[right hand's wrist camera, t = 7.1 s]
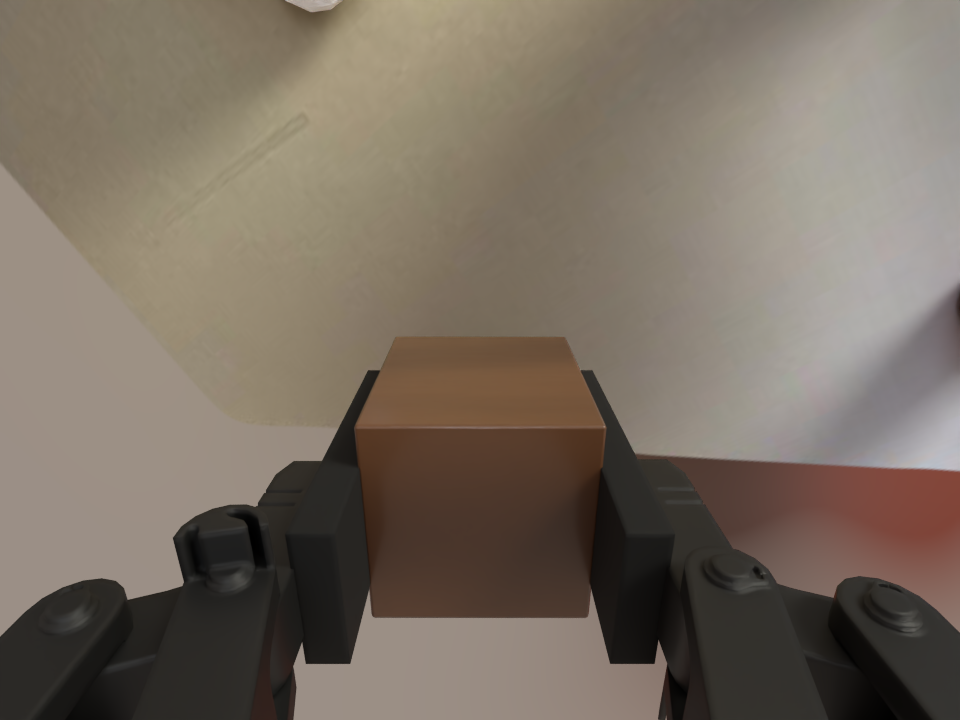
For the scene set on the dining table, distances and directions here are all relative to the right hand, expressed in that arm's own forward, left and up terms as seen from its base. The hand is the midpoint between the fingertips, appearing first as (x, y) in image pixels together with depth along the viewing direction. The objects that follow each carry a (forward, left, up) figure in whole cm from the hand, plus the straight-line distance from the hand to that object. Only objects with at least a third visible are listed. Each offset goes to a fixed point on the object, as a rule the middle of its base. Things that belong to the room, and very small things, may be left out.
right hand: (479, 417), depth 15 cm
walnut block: (0, 0, 0) cm, 0 cm away
